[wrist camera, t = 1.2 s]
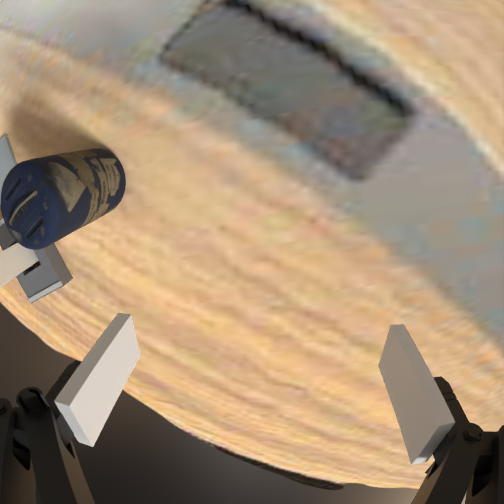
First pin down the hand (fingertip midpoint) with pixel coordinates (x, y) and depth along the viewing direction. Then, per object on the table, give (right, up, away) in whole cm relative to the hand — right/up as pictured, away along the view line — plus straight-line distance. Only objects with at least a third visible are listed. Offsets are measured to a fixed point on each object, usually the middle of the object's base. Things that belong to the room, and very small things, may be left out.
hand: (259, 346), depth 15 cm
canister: (-22, +15, +25) cm, 37 cm away
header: (-39, +5, +30) cm, 50 cm away
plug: (-39, +5, +30) cm, 50 cm away
